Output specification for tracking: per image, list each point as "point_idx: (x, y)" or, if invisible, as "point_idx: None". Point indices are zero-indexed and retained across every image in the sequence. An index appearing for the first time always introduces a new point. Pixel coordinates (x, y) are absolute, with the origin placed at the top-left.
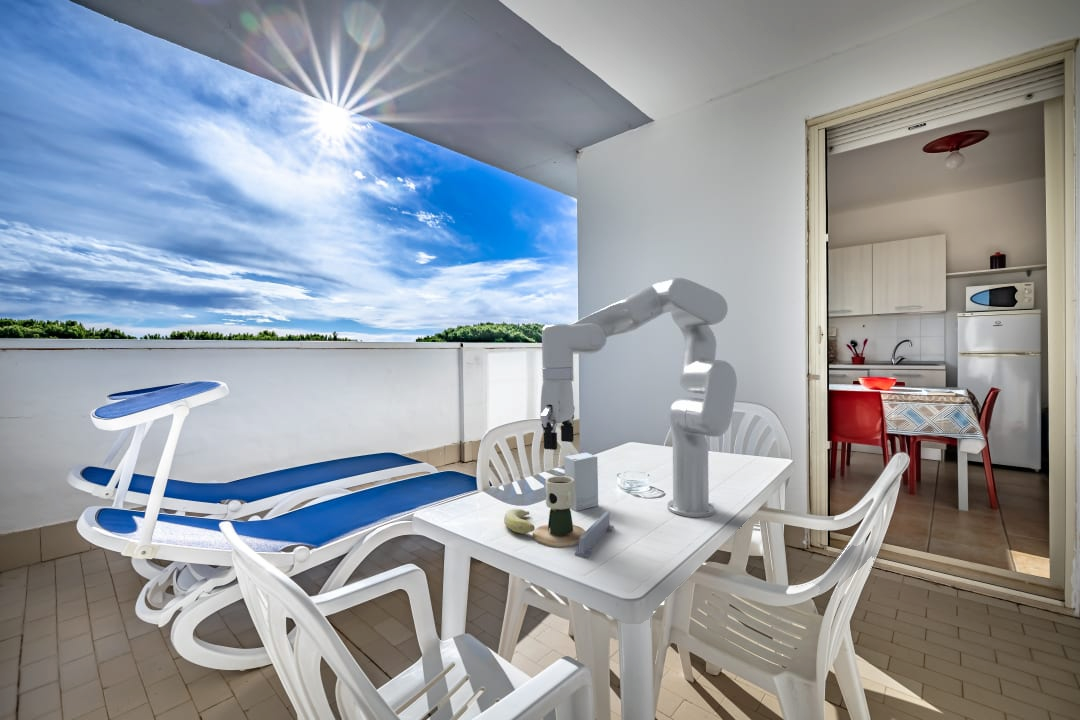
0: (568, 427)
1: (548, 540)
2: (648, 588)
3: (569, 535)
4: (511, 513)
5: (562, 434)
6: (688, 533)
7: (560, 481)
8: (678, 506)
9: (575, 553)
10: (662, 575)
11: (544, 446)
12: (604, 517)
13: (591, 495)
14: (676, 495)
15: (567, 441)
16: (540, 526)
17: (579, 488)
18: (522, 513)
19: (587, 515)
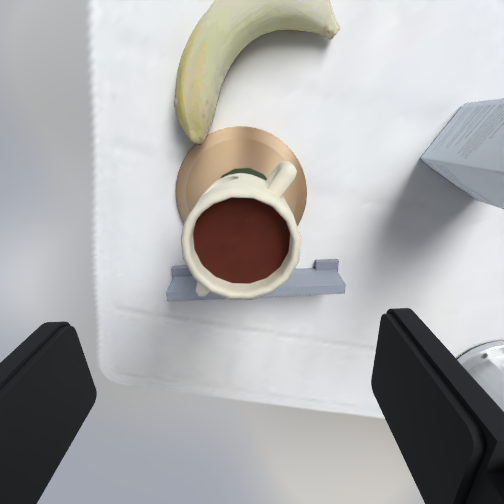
0: (443, 498)
1: (189, 195)
2: (142, 386)
3: None
4: (229, 19)
5: (409, 362)
6: (359, 392)
7: (285, 221)
8: (473, 372)
9: (171, 269)
10: (188, 392)
11: (36, 334)
12: (305, 294)
13: (483, 195)
14: (497, 387)
15: (379, 353)
16: (258, 129)
17: (471, 176)
18: (298, 27)
19: (395, 200)
